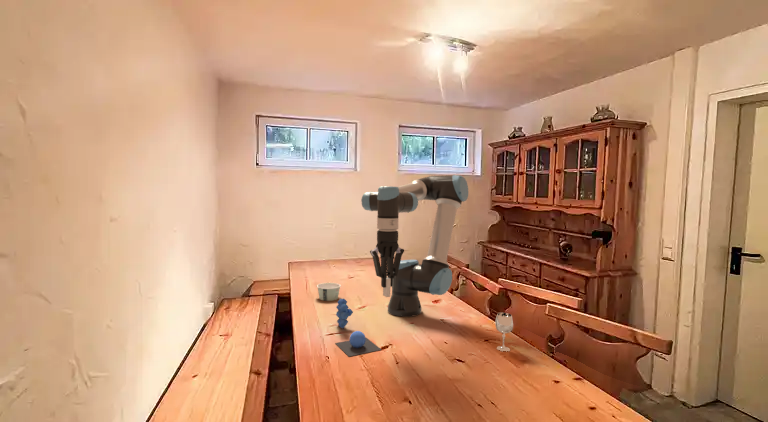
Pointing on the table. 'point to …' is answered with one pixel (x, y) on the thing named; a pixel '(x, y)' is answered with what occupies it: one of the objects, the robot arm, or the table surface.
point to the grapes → (343, 313)
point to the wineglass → (504, 327)
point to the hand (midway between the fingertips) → (386, 295)
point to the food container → (328, 291)
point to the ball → (357, 339)
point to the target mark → (353, 351)
